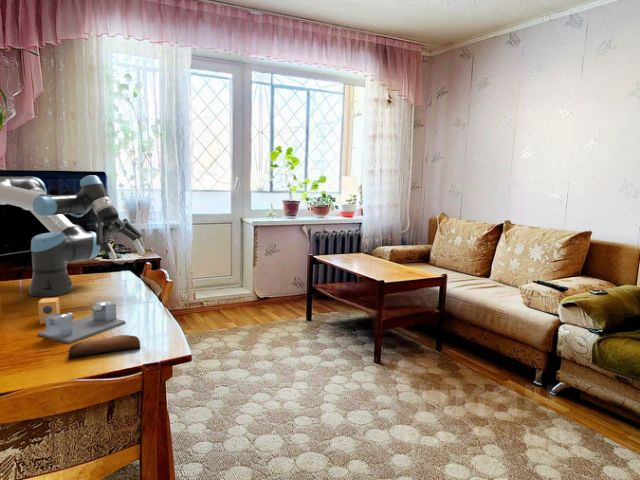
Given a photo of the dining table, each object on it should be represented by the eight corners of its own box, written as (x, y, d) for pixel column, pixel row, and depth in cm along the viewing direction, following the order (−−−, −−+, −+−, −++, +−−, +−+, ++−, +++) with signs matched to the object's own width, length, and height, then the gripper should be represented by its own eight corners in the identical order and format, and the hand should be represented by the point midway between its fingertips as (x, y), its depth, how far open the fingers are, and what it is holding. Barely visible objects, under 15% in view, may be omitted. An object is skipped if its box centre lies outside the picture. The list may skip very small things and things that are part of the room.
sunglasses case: (137, 338, 136) (138, 324, 132) (140, 357, 131) (140, 343, 127) (68, 348, 127) (67, 332, 123) (69, 369, 123) (67, 353, 119)
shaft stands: (46, 334, 135) (45, 316, 134) (103, 316, 153) (103, 299, 152) (60, 338, 132) (58, 319, 131) (116, 318, 150) (115, 302, 149)
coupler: (39, 323, 146) (38, 302, 145) (43, 318, 151) (41, 298, 150) (57, 322, 148) (55, 301, 146) (60, 317, 152) (58, 297, 151)
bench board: (38, 334, 136) (37, 332, 136) (95, 316, 154) (95, 314, 154) (69, 343, 131) (69, 341, 130) (125, 323, 149) (125, 320, 148)
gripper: (82, 207, 169) (107, 257, 166) (135, 204, 191) (158, 247, 188) (71, 218, 172) (96, 266, 169) (125, 213, 194) (147, 256, 192)
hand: (129, 256), depth 179 cm, fingers open, 13 cm apart
